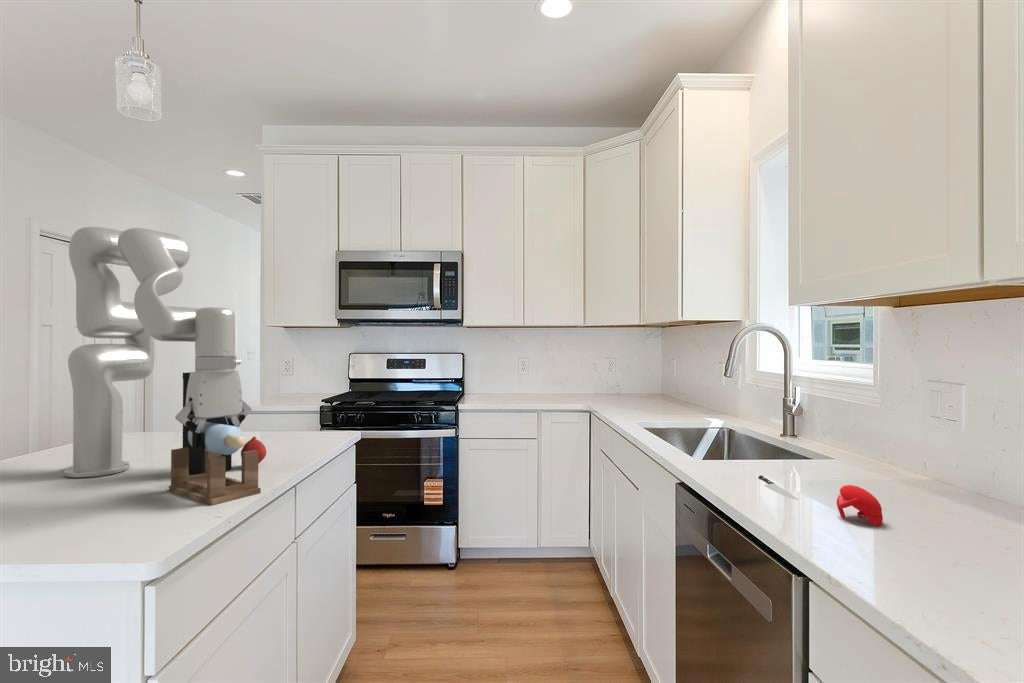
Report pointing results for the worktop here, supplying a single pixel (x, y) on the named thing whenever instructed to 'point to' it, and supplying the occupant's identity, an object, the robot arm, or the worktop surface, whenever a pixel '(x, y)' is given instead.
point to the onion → (255, 448)
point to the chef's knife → (776, 488)
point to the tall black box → (194, 456)
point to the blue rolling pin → (221, 438)
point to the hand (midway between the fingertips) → (215, 447)
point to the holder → (213, 477)
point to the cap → (860, 503)
